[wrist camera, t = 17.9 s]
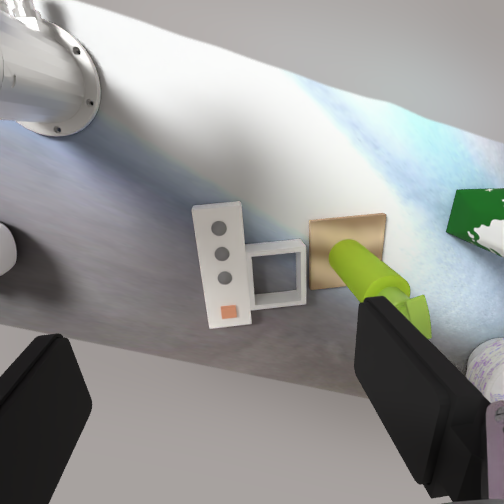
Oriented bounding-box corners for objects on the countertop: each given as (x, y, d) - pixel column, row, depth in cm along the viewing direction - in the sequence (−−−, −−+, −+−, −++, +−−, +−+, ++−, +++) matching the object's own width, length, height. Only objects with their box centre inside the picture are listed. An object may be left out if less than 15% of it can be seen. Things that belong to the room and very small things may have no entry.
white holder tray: (193, 205, 44) (191, 211, 41) (299, 195, 45) (306, 200, 42) (210, 318, 51) (209, 331, 48) (301, 307, 52) (306, 319, 49)
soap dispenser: (358, 228, 47) (447, 290, 28) (366, 265, 49) (452, 344, 31) (323, 240, 47) (388, 310, 28) (333, 277, 49) (398, 362, 31)
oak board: (309, 220, 46) (311, 221, 46) (383, 213, 47) (386, 214, 46) (309, 287, 51) (310, 290, 50) (376, 279, 52) (379, 282, 51)
